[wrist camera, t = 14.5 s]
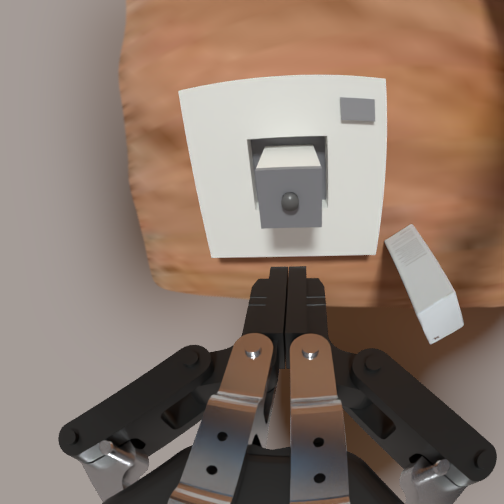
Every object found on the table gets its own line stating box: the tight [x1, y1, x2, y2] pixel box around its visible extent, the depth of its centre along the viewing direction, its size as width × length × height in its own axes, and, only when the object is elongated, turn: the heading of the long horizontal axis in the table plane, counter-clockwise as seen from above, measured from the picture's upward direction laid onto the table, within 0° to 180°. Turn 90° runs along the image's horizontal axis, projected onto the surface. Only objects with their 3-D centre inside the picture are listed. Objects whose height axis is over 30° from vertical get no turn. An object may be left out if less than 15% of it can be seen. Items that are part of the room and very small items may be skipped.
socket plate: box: [178, 75, 387, 258], centre depth 24 cm, size 18×18×3 cm
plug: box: [255, 144, 322, 229], centre depth 22 cm, size 4×4×9 cm
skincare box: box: [384, 224, 464, 344], centre depth 24 cm, size 6×4×12 cm
